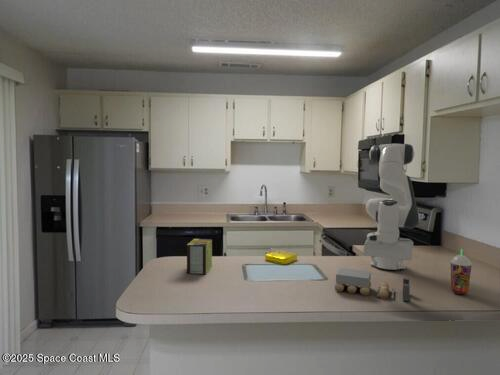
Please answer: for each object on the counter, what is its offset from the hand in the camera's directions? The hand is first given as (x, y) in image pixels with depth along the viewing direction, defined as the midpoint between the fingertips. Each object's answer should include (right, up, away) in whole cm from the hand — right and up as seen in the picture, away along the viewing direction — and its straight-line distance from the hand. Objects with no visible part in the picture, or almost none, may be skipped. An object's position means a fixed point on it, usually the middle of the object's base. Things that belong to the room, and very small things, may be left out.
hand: (386, 267), depth 158 cm
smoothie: (+35, -13, +5) cm, 38 cm away
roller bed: (-9, -12, +4) cm, 15 cm away
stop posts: (+7, -13, -3) cm, 15 cm away
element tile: (-42, -9, +55) cm, 70 cm away
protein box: (-88, -9, +34) cm, 95 cm away
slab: (-13, -8, +6) cm, 16 cm away
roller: (0, -12, 0) cm, 12 cm away
